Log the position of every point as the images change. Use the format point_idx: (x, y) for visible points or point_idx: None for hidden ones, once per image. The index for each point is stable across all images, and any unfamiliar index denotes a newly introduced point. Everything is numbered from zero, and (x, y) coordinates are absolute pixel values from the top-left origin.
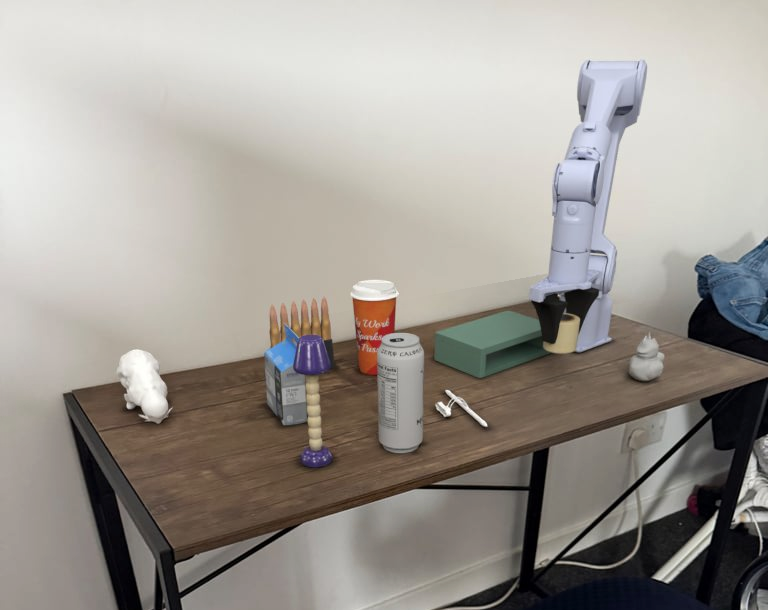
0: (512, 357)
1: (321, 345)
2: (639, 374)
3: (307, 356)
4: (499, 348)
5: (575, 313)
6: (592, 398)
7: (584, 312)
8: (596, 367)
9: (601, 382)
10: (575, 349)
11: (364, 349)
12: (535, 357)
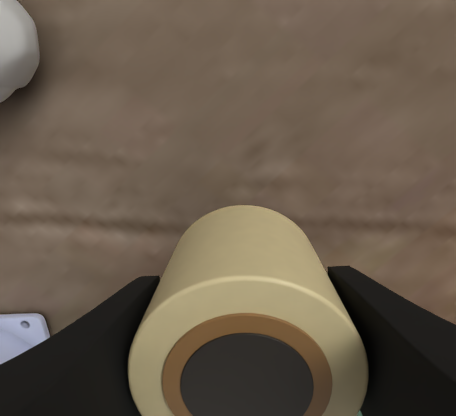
0: None
1: None
2: (23, 11)
3: None
4: (358, 413)
5: (117, 387)
6: (269, 35)
7: (80, 345)
8: (69, 213)
9: (142, 117)
10: (214, 211)
11: None
12: None
